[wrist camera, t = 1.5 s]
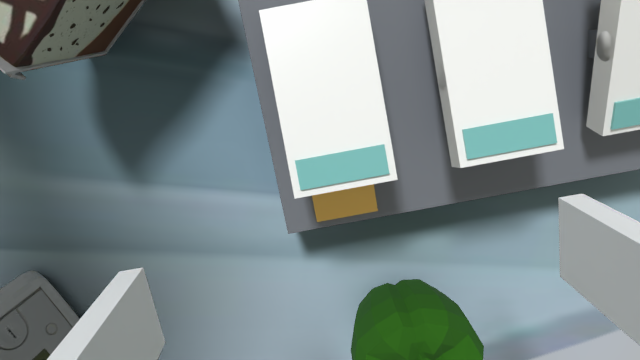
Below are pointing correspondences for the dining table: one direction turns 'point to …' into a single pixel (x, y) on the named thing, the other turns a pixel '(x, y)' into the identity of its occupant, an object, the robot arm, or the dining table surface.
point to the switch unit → (428, 122)
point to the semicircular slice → (59, 31)
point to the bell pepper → (412, 325)
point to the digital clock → (32, 318)
